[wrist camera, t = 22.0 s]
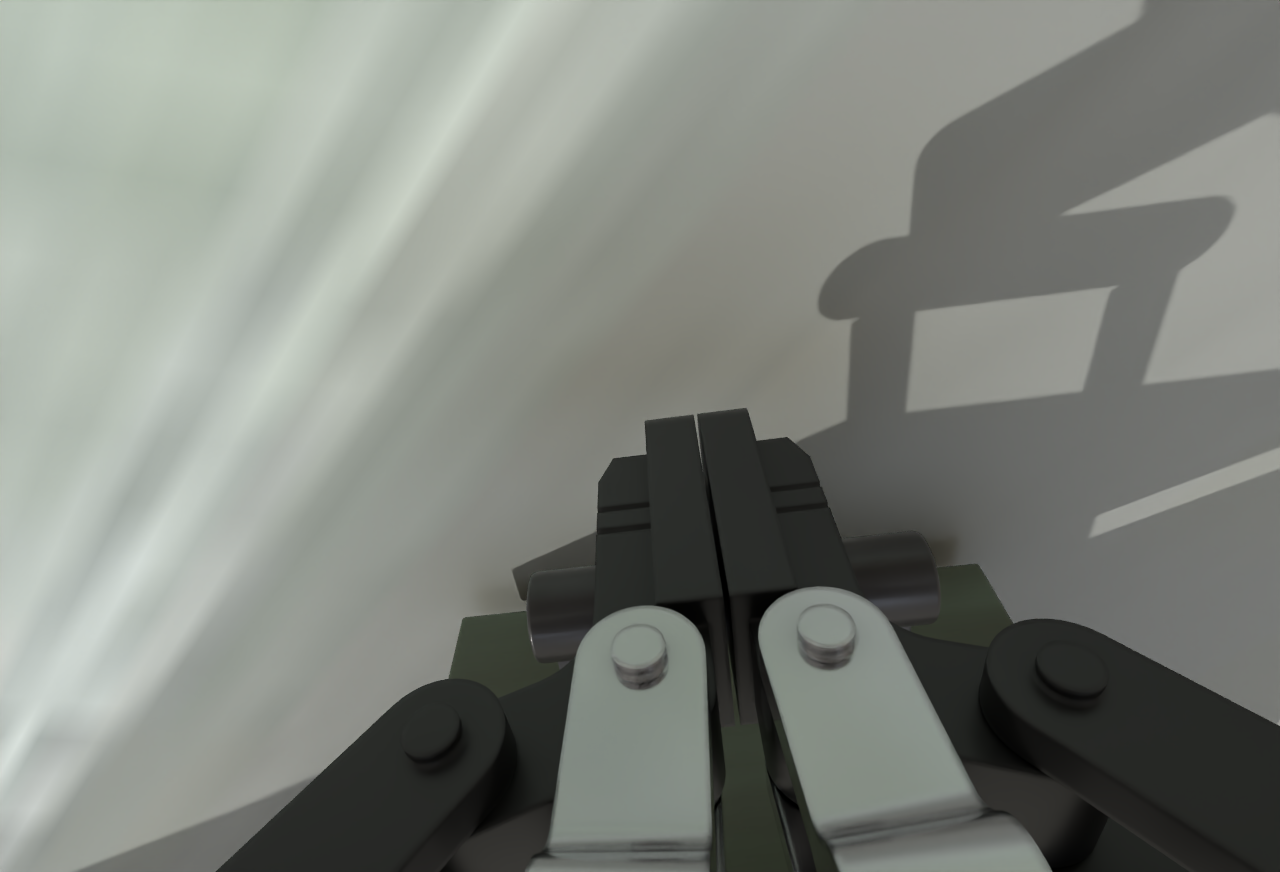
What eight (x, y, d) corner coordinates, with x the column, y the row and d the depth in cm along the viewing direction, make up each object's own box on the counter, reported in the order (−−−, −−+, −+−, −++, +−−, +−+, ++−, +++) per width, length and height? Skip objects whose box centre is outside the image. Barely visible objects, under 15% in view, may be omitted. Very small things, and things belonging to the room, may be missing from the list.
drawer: (394, 447, 14) (248, 765, 9) (1016, 373, 14) (1294, 666, 8) (569, 887, 25) (555, 1152, 20) (918, 857, 25) (1006, 1122, 19)
